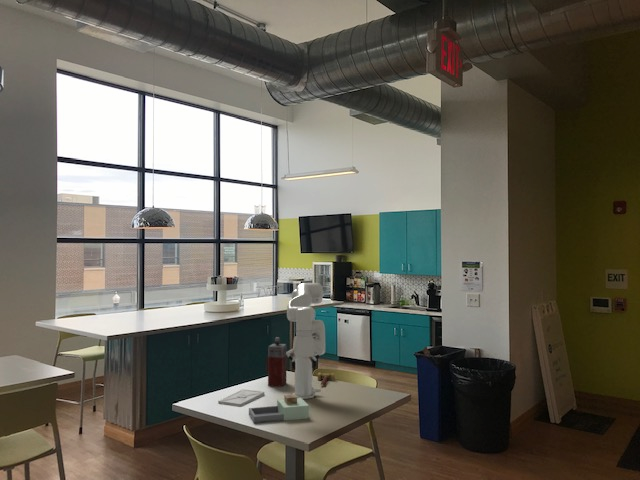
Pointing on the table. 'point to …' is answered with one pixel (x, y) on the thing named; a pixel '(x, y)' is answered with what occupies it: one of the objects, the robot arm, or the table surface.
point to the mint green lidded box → (293, 409)
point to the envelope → (241, 397)
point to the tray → (265, 414)
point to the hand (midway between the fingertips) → (303, 369)
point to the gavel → (325, 377)
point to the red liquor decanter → (276, 364)
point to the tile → (290, 399)
